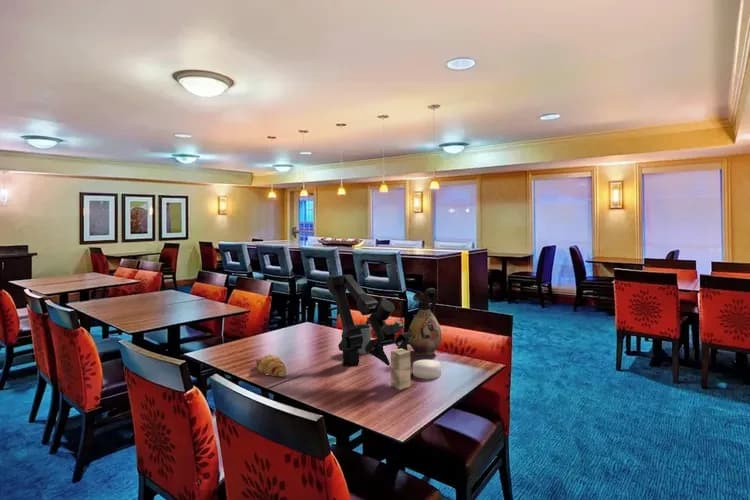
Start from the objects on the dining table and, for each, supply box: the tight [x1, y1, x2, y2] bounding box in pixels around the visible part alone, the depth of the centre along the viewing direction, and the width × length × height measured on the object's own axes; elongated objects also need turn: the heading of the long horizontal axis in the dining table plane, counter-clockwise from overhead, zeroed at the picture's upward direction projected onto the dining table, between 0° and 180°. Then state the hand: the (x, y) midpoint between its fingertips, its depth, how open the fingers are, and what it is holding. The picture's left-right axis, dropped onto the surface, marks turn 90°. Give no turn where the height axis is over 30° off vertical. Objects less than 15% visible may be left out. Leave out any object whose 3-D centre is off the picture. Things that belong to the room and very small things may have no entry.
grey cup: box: [354, 323, 372, 355], centre depth 200 cm, size 10×10×12 cm
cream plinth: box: [412, 359, 442, 380], centre depth 170 cm, size 11×11×4 cm
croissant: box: [255, 354, 287, 378], centre depth 175 cm, size 21×10×8 cm, turn 45°
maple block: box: [390, 349, 411, 391], centre depth 157 cm, size 5×5×13 cm
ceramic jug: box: [407, 287, 443, 356], centre depth 197 cm, size 17×15×30 cm
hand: (398, 362), depth 158 cm, fingers open, 9 cm apart
